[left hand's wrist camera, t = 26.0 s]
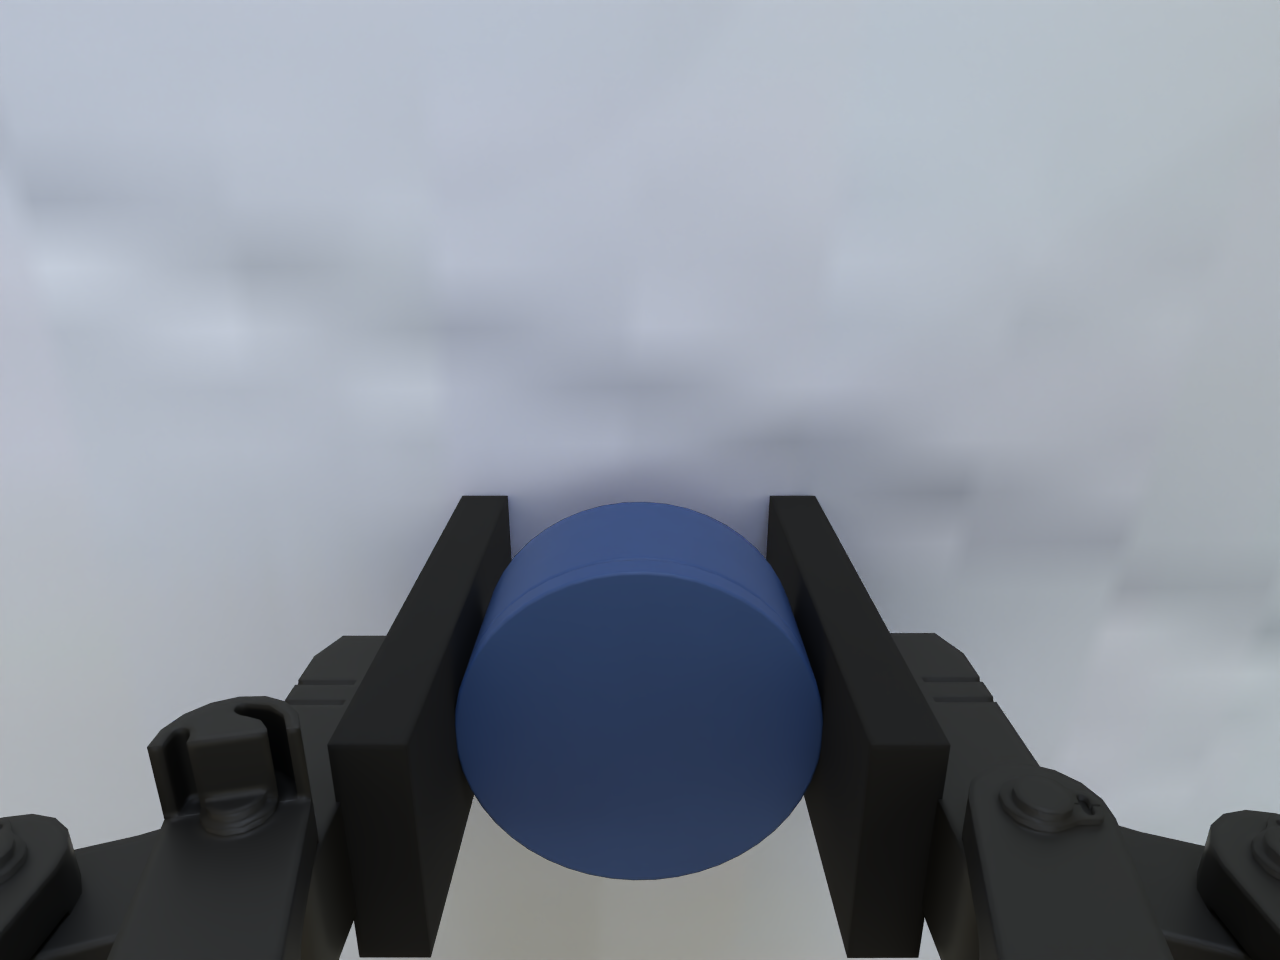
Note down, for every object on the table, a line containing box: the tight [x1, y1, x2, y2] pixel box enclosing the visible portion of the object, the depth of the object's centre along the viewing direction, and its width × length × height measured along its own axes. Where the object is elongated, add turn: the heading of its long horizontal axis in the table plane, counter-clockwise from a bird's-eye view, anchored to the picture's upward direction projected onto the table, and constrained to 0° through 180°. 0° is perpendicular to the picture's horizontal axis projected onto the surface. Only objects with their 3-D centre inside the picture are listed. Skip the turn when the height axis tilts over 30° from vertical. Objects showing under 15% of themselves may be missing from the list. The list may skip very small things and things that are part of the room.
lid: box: [455, 502, 823, 880], centre depth 11 cm, size 4×4×2 cm
